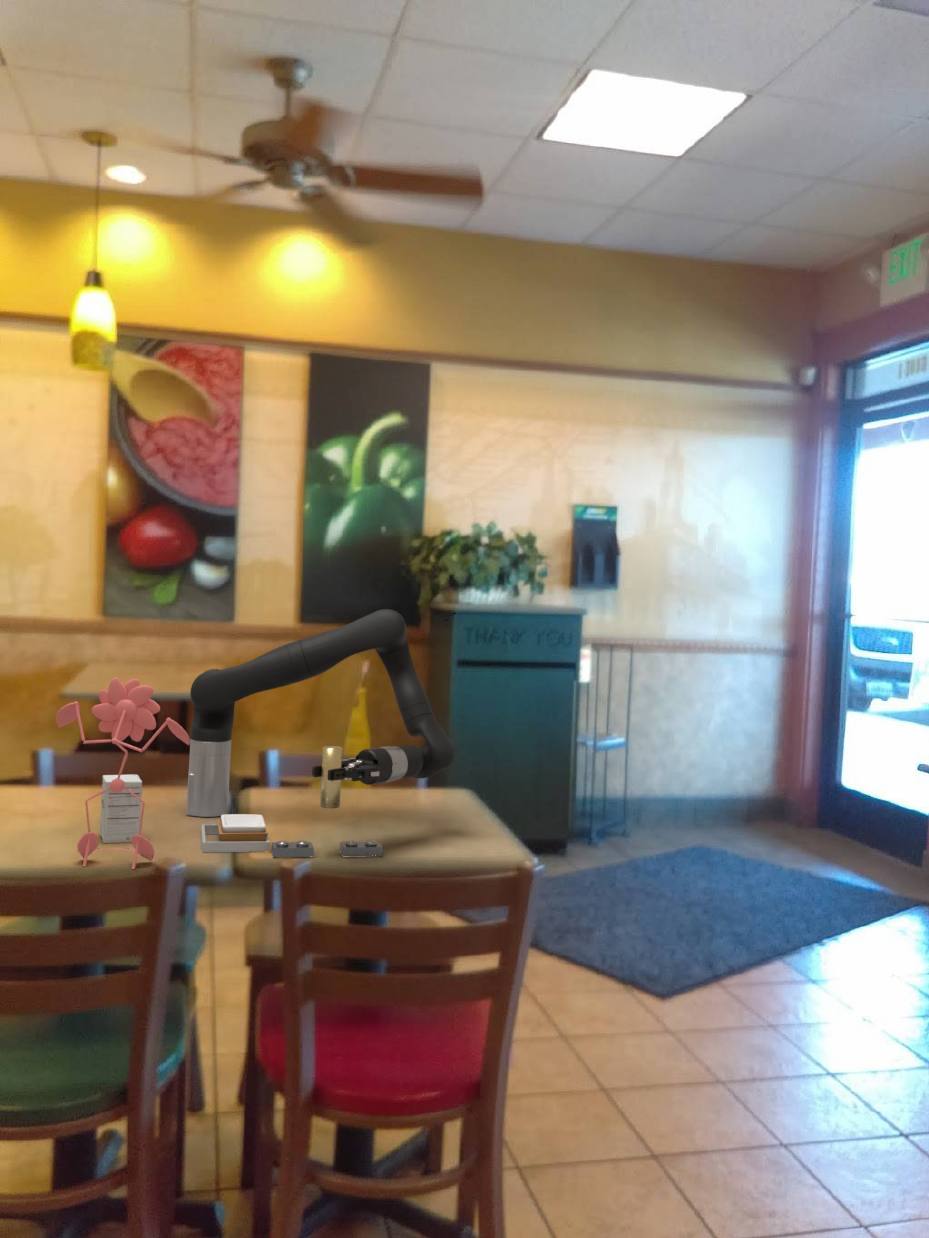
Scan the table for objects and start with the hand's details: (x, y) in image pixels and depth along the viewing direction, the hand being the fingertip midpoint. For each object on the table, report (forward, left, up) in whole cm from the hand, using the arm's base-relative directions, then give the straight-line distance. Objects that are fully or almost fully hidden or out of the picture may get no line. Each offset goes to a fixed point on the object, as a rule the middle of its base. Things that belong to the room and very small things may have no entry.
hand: (321, 773), depth 213 cm
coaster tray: (-16, +12, -17) cm, 26 cm away
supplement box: (-39, +16, -17) cm, 45 cm away
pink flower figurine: (-38, 0, -17) cm, 41 cm away
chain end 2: (+9, +2, -17) cm, 19 cm away
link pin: (+2, +2, -7) cm, 8 cm away
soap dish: (-14, +12, -17) cm, 25 cm away
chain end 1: (-5, +2, -17) cm, 18 cm away
